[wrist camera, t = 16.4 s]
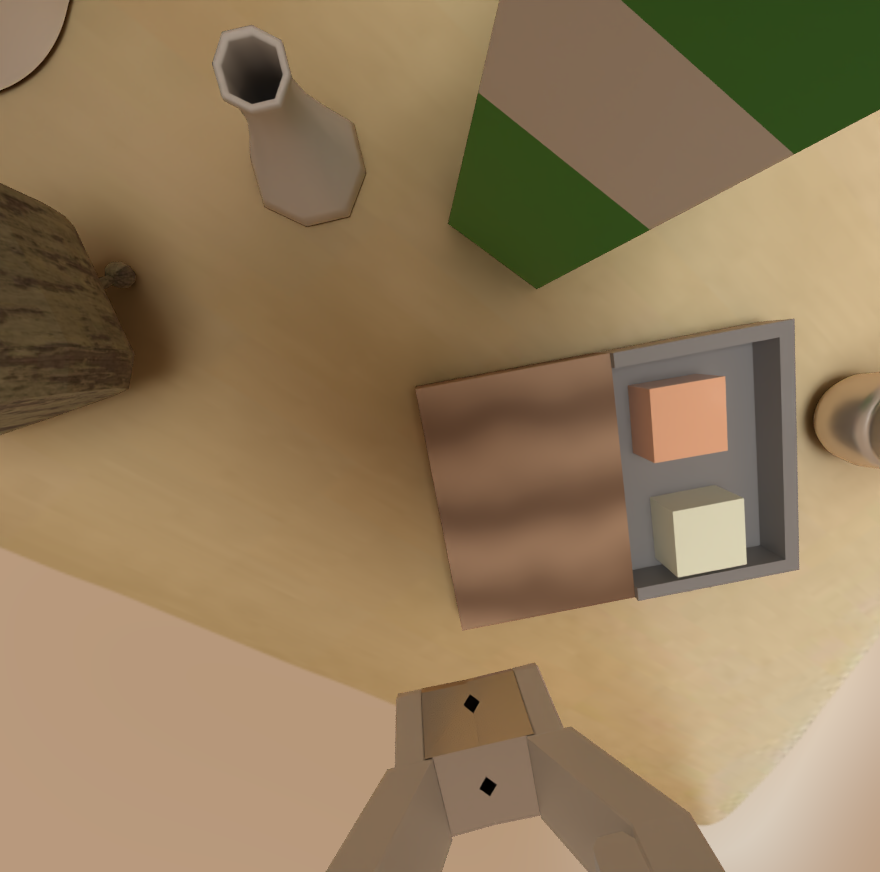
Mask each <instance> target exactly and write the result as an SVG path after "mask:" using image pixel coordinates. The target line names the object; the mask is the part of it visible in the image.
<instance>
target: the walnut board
mask: <svg viewBox="0 0 880 872" xmlns="http://www.w3.org/2000/svg"><path fill="white" fill-rule="evenodd" d="M415 390H416V395H417V400H418V405H419V410H420V416H421V421H422V426H423V431H424V436H425V441H426V446H427V452H428V457H429V462H430V467H431V472H432V477H433V482H434V488H435V493H436V498H437V503H438V508H439V513H440V518H441V524H442V529H443V534H444V539H445V544H446V549H447V554H448V560H449V565H450V570H451V575H452V580H453V585H454V590H455V596H456V601H457V606H458V611H459V616H460V621H461V626H462V631H463V630H468V629H473V628H479V627H484V626H489V625H494V624H499V623H504V622H509V621H515V620H520V619H525V618H530V617H535V616H540V615H545V614H551V613H556V612H561V611H566V610H571V609H576V608H581V607H587V606H592V605H597V604H602V603H607V602H612V601H617V600H622V599H628V598H633V597H635V590H634V580H633V571H632V561H631V551H630V541H629V532H628V522H627V512H626V503H625V493H624V483H623V474H622V464H621V454H620V444H619V435H618V425H617V415H616V406H615V396H614V386H613V377H612V367H611V357H610V353H591V354H585V355H580V356H575V357H569V358H564V359H559V360H553V361H548V362H543V363H538V364H532V365H527V366H522V367H516V368H511V369H506V370H500V371H495V372H490V373H484V374H479V375H474V376H468V377H463V378H458V379H452V380H447V381H442V382H436V383H431V384H426V385H420V386H416V389H415Z"/></svg>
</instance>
